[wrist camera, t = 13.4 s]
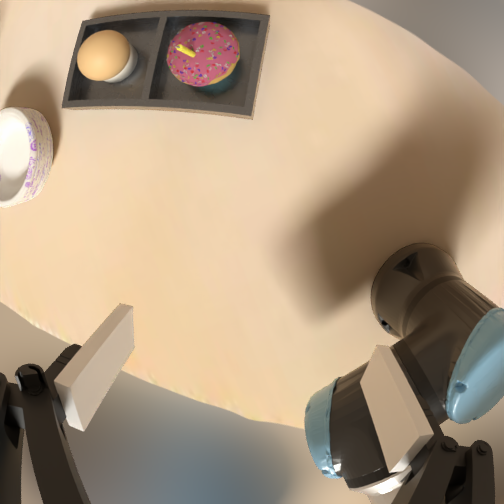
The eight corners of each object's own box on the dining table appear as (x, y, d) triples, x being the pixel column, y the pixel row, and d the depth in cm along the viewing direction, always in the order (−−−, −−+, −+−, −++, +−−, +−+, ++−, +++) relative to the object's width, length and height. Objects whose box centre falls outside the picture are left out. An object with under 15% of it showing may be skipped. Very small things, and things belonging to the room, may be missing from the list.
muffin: (145, 39, 32) (121, 19, 25) (134, 85, 34) (107, 73, 27) (102, 42, 32) (74, 27, 25) (92, 86, 34) (61, 77, 27)
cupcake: (223, 102, 35) (205, 80, 24) (166, 80, 34) (128, 56, 23) (253, 48, 32) (248, 7, 21) (196, 28, 32) (170, -13, 20)
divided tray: (269, 26, 32) (269, 15, 29) (252, 119, 36) (251, 116, 33) (93, 27, 32) (82, 21, 28) (74, 110, 36) (61, 108, 33)
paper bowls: (76, 175, 39) (44, 181, 32) (20, 212, 41) (-10, 222, 34) (53, 91, 35) (22, 86, 28) (0, 137, 37) (-30, 139, 30)
